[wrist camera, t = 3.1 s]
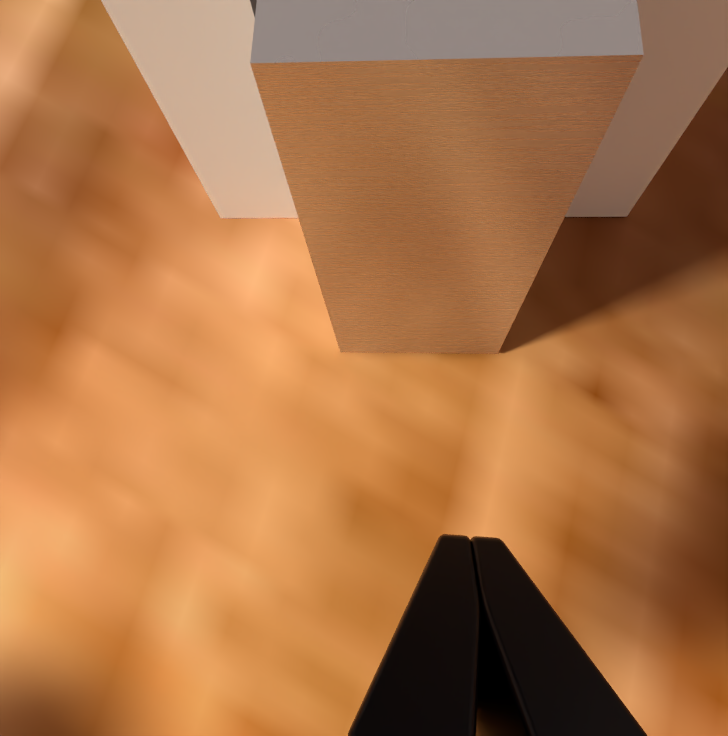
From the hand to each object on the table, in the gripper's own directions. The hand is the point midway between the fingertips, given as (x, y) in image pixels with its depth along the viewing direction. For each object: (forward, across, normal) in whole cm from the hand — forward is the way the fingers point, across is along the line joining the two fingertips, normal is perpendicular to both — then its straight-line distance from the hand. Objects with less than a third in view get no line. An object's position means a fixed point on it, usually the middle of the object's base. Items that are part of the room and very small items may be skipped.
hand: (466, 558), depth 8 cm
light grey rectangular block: (+15, +1, -1) cm, 15 cm away
